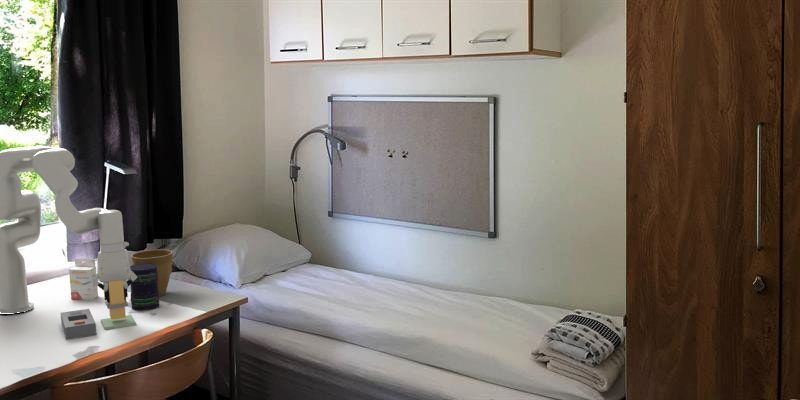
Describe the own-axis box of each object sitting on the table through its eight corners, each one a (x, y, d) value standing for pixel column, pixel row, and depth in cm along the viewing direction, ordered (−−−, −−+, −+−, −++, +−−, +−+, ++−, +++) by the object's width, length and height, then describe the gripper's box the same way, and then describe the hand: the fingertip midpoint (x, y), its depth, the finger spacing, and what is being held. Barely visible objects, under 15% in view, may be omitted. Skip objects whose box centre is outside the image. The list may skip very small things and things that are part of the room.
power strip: (61, 324, 264) (60, 310, 264) (89, 319, 268) (88, 306, 268) (66, 339, 249) (65, 325, 248) (96, 334, 253) (95, 321, 252)
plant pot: (181, 289, 305) (178, 249, 302) (166, 300, 290) (163, 258, 288) (144, 288, 306) (141, 248, 304) (127, 299, 292) (124, 257, 289)
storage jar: (126, 307, 283) (123, 266, 280) (151, 301, 289) (149, 261, 287) (139, 312, 276) (136, 271, 273) (164, 306, 282) (162, 266, 280)
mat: (100, 321, 266) (100, 319, 266) (131, 317, 271) (131, 314, 271) (104, 329, 258) (104, 327, 257) (136, 324, 262) (136, 322, 262)
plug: (106, 315, 265) (103, 278, 263) (126, 312, 268) (123, 276, 266) (109, 321, 260) (106, 283, 257) (129, 318, 262) (126, 280, 260)
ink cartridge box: (70, 299, 293) (67, 261, 291) (77, 295, 298) (74, 258, 296) (92, 299, 292) (89, 261, 290) (98, 296, 297) (95, 258, 295)
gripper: (136, 242, 267) (140, 294, 270) (83, 248, 259) (88, 301, 262) (140, 246, 261) (144, 299, 263) (86, 252, 253) (90, 307, 256)
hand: (116, 300), depth 263 cm, fingers closed on plug, 4 cm apart
